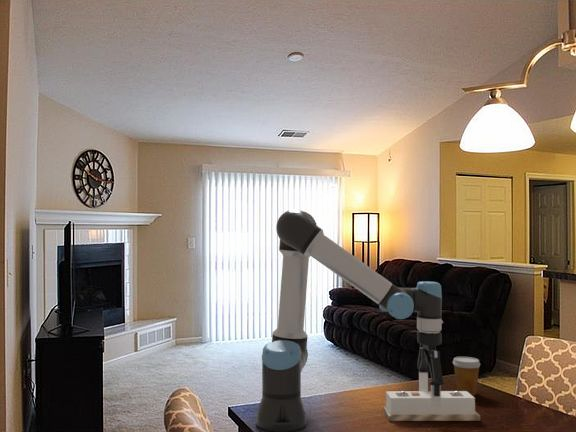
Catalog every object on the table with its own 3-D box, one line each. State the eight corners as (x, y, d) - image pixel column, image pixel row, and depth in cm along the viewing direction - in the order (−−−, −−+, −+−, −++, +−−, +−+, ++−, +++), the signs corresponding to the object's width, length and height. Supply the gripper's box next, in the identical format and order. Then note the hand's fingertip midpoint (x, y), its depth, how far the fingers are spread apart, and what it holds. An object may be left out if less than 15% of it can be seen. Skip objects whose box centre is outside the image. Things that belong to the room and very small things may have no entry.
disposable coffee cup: (485, 392, 184) (484, 359, 184) (474, 399, 177) (474, 364, 177) (459, 387, 190) (458, 355, 191) (448, 393, 183) (448, 359, 183)
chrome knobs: (401, 414, 159) (400, 392, 160) (399, 412, 161) (399, 390, 161) (461, 414, 159) (460, 392, 160) (459, 412, 161) (458, 390, 162)
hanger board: (388, 420, 156) (388, 415, 156) (383, 410, 165) (383, 406, 165) (480, 420, 156) (480, 415, 156) (469, 410, 165) (469, 405, 165)
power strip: (390, 414, 157) (390, 396, 157) (386, 407, 164) (385, 389, 164) (475, 414, 157) (474, 395, 157) (466, 406, 164) (466, 389, 164)
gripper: (454, 339, 149) (454, 412, 148) (429, 324, 174) (429, 387, 173) (428, 338, 149) (428, 412, 148) (407, 324, 174) (407, 387, 173)
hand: (429, 399), depth 160 cm, fingers open, 13 cm apart
